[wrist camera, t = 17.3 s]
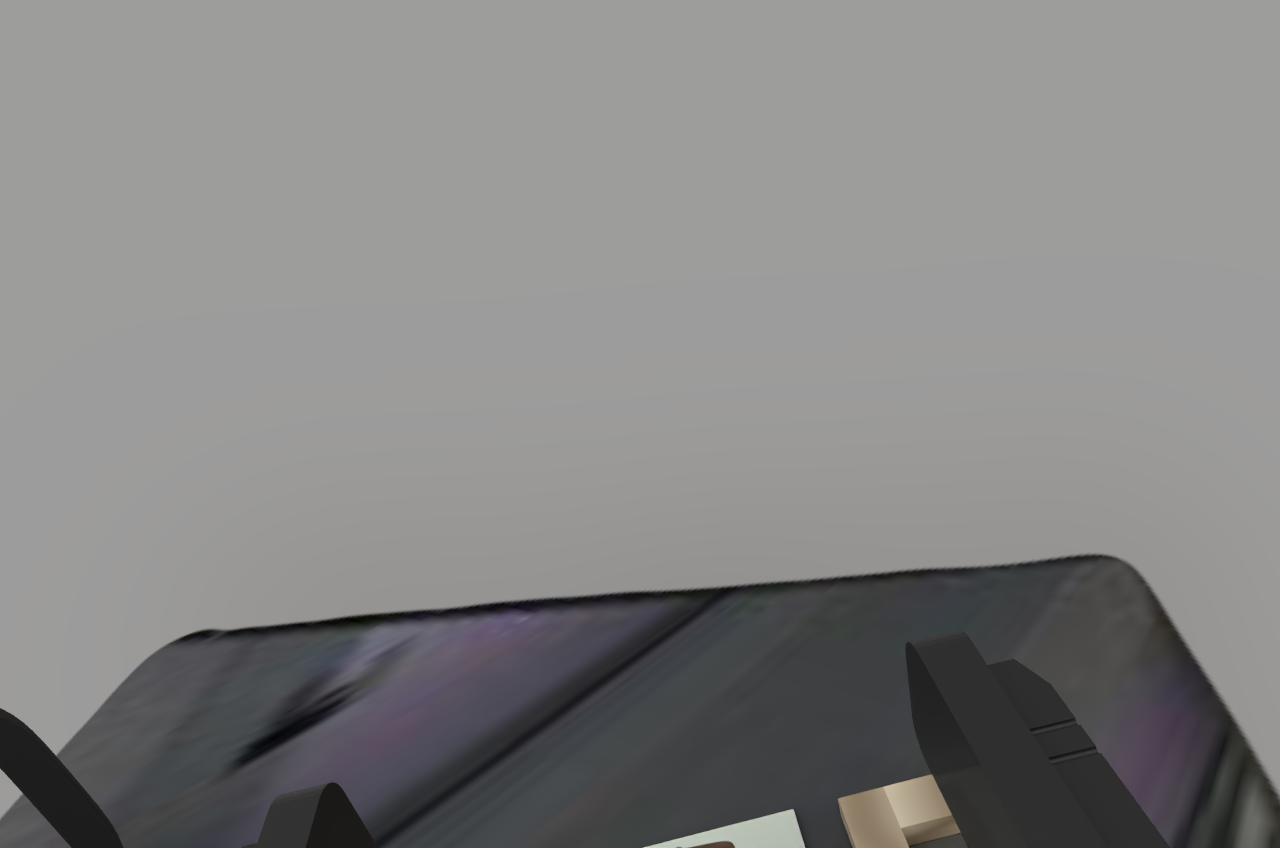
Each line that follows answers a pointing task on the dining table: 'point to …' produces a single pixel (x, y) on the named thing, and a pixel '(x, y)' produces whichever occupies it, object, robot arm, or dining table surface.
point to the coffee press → (52, 787)
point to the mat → (749, 834)
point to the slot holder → (897, 815)
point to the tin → (715, 845)
